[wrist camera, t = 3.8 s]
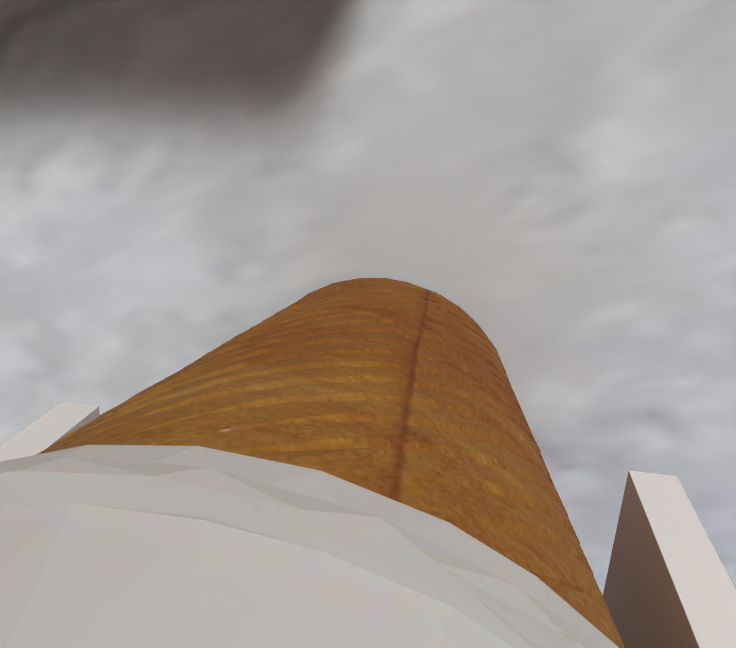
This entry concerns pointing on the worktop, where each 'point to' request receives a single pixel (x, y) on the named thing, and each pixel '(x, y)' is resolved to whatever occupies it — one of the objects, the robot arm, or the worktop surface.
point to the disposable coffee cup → (304, 499)
